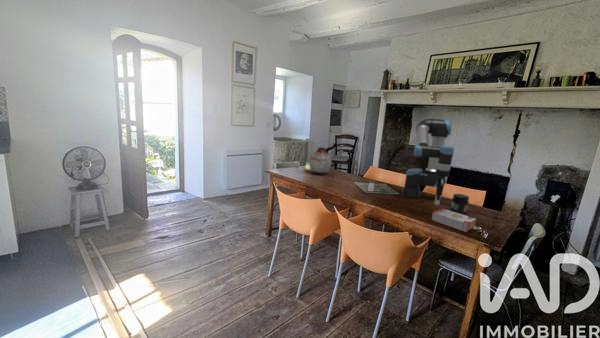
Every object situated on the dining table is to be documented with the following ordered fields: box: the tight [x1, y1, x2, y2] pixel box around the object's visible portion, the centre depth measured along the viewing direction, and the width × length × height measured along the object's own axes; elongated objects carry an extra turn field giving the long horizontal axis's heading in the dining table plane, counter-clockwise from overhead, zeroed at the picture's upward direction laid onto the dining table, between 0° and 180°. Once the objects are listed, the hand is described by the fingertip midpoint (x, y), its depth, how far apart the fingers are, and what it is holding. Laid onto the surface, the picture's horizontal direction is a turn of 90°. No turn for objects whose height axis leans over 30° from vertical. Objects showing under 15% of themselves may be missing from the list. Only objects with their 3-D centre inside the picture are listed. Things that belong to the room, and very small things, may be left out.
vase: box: [309, 147, 332, 176], centre depth 278 cm, size 23×23×28 cm
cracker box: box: [431, 208, 477, 233], centre depth 167 cm, size 14×6×21 cm
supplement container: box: [450, 193, 470, 215], centre depth 191 cm, size 10×10×12 cm
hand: (436, 204), depth 175 cm, fingers closed
